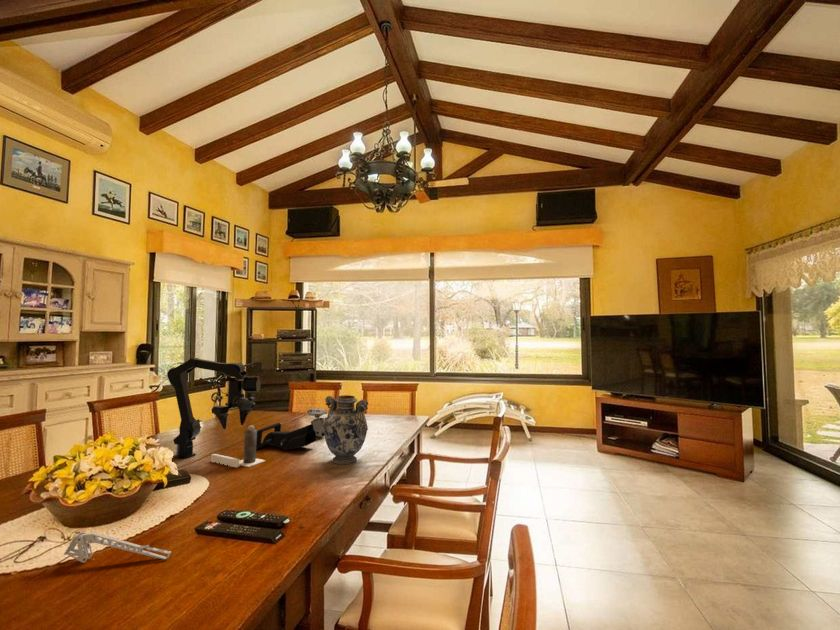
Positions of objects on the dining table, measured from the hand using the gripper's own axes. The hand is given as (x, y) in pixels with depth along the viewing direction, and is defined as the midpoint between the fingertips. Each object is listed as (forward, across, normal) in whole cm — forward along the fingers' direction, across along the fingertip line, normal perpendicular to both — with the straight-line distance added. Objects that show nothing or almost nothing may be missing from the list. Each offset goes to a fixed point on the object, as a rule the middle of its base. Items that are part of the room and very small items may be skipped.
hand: (233, 426), depth 180 cm
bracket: (+14, -69, -44) cm, 83 cm away
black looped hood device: (+13, +22, -11) cm, 28 cm away
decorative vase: (+13, +20, -46) cm, 52 cm away
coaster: (+13, -2, -13) cm, 18 cm away
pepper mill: (+13, -2, -13) cm, 18 cm away
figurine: (+13, +45, -9) cm, 48 cm away
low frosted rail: (+13, -8, -6) cm, 17 cm away
